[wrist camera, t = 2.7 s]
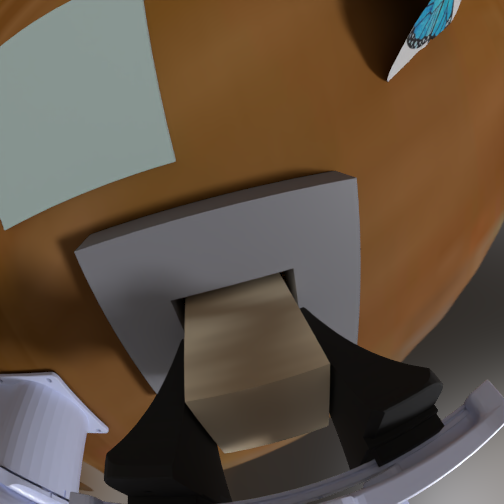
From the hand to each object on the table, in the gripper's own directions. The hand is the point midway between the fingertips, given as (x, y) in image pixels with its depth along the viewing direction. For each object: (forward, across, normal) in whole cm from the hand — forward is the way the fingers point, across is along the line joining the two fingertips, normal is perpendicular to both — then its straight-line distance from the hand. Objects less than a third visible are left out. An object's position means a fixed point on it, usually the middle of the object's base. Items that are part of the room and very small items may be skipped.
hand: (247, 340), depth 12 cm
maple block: (+3, 0, 0) cm, 3 cm away
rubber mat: (+3, +6, -13) cm, 15 cm away
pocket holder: (+3, 0, 0) cm, 3 cm away
